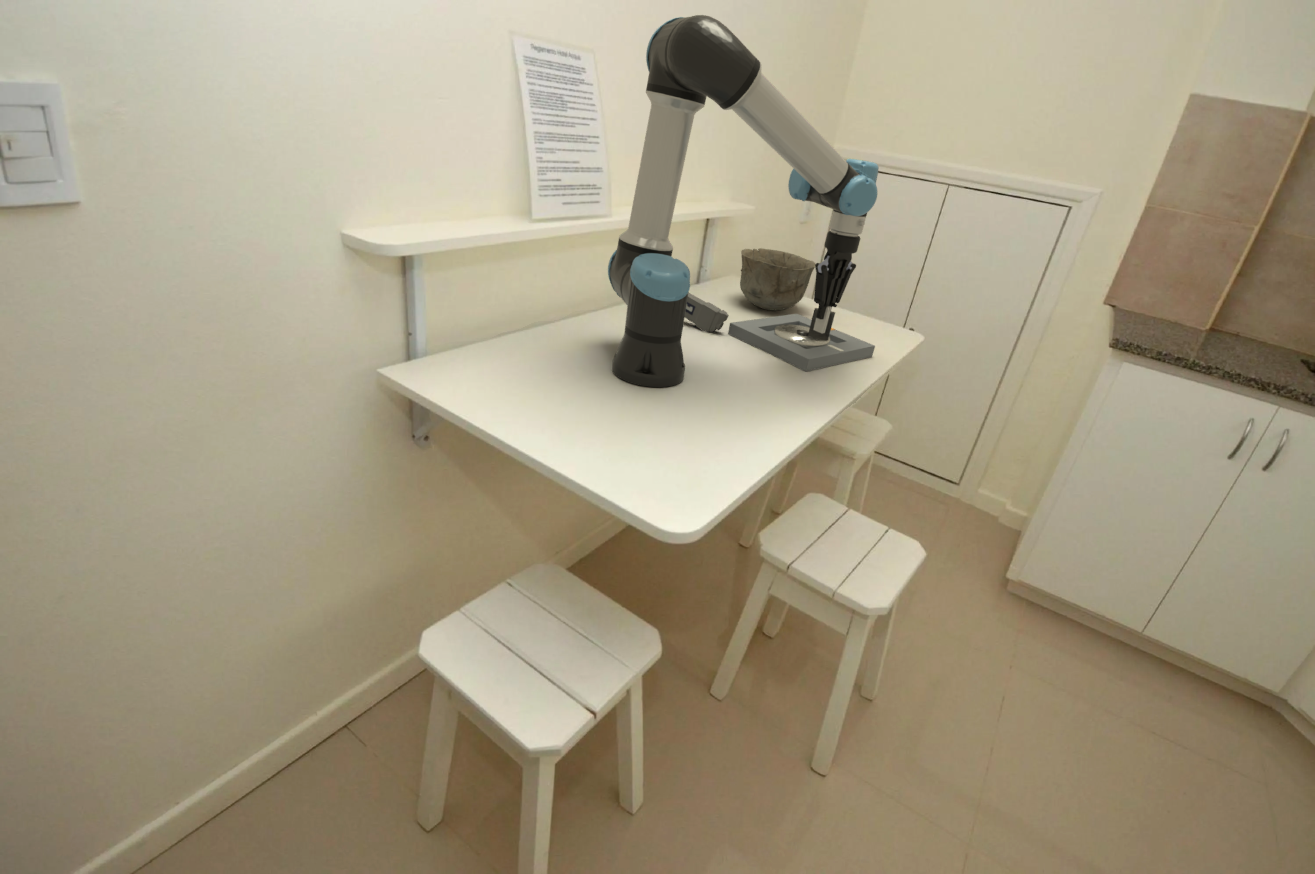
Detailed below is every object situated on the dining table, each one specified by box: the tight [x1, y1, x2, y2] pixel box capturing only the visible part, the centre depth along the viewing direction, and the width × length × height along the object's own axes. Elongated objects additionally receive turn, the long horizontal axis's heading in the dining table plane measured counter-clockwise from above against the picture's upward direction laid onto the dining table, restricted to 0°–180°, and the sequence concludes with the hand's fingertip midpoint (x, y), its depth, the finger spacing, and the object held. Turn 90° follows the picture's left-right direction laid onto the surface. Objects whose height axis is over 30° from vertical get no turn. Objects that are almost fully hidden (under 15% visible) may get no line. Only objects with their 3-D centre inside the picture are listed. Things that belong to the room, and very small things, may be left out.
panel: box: [727, 313, 876, 372], centre depth 166 cm, size 26×26×3 cm
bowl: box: [739, 247, 817, 311], centre depth 191 cm, size 22×22×15 cm
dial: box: [774, 307, 836, 349], centre depth 164 cm, size 14×14×8 cm
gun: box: [684, 292, 729, 333], centre depth 170 cm, size 3×25×15 cm, turn 61°
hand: (819, 331), depth 161 cm, fingers closed
